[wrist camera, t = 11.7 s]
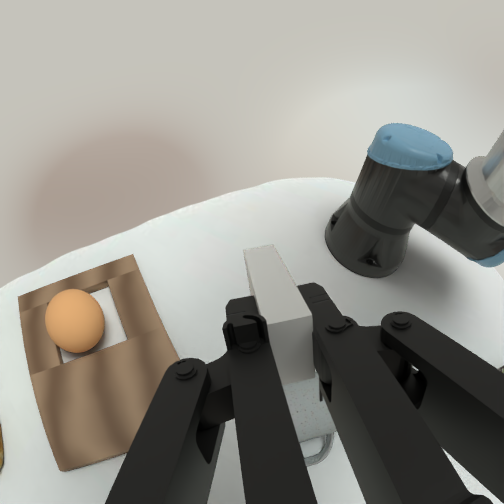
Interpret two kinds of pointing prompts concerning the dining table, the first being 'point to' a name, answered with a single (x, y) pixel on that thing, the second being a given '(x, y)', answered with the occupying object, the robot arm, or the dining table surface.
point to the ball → (74, 320)
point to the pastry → (1, 449)
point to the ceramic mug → (310, 415)
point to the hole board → (96, 368)
